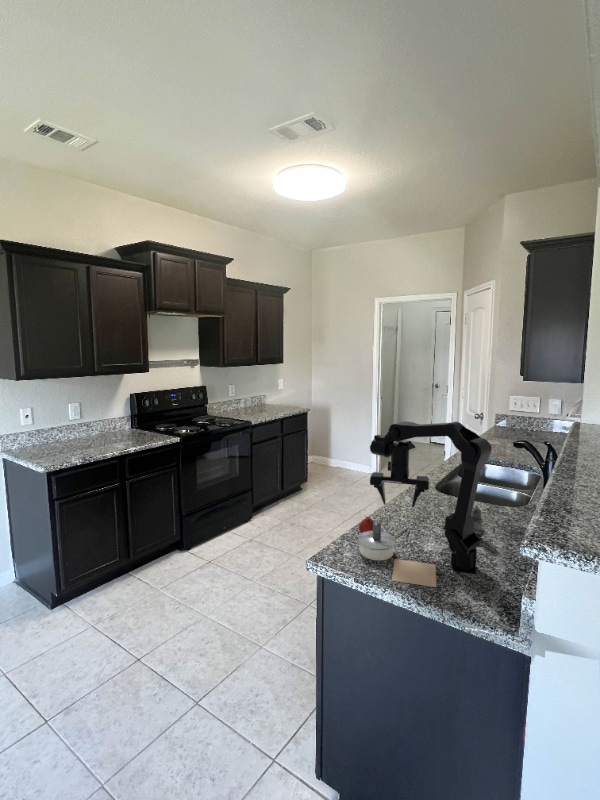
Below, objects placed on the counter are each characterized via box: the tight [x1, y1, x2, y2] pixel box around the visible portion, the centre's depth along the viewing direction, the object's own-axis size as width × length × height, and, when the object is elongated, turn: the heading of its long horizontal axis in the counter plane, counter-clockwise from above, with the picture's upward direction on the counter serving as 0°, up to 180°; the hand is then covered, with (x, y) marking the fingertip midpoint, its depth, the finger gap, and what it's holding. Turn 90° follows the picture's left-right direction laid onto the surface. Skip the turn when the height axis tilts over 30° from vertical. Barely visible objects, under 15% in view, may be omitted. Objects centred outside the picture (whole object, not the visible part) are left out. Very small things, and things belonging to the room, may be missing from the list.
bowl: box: [358, 542, 395, 561], centre depth 136 cm, size 11×11×4 cm
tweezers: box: [392, 524, 412, 542], centre depth 151 cm, size 18×5×2 cm, turn 148°
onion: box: [358, 516, 375, 534], centre depth 145 cm, size 6×6×8 cm
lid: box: [358, 521, 396, 550], centre depth 135 cm, size 12×12×6 cm
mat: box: [391, 558, 437, 588], centre depth 124 cm, size 12×12×1 cm
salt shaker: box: [472, 505, 486, 544], centre depth 143 cm, size 6×6×12 cm
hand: (398, 505), depth 142 cm, fingers open, 9 cm apart
